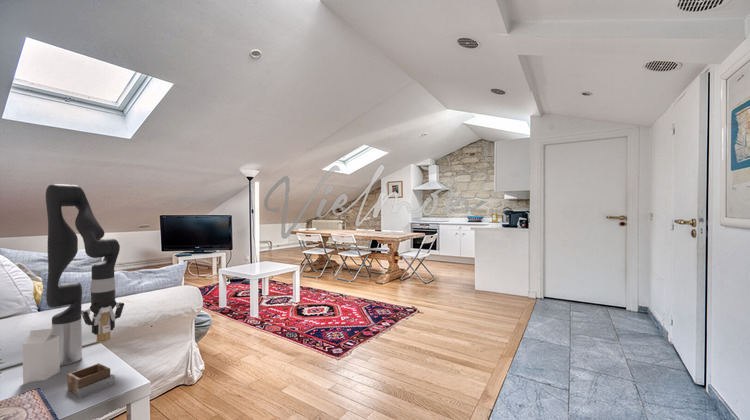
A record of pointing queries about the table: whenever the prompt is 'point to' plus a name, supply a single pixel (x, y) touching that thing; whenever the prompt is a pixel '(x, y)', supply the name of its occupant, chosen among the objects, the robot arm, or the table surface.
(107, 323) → the sprinkles bottle
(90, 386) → the rail
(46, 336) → the milk carton
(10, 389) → the table surface
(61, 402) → the table surface
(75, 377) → the block
